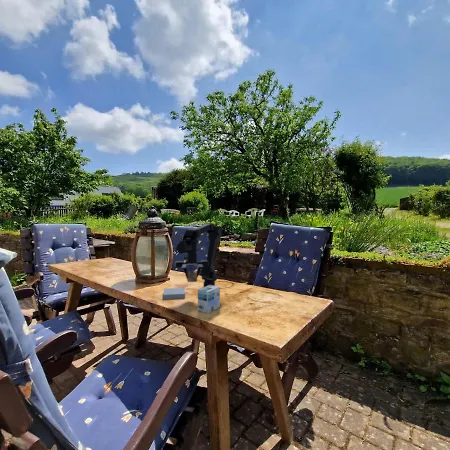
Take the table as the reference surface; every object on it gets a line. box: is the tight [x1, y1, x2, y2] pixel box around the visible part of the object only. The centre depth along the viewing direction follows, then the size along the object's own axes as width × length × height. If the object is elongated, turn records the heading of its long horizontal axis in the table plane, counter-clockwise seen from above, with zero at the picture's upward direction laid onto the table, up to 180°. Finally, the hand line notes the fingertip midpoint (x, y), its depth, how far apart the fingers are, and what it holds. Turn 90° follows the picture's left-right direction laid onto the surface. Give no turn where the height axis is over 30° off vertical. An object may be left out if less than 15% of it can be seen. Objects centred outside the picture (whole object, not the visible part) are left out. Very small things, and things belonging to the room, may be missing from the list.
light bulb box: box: [197, 285, 221, 314], centre depth 131 cm, size 11×7×11 cm, turn 148°
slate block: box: [162, 287, 186, 300], centre depth 152 cm, size 12×12×3 cm
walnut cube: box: [186, 270, 198, 283], centre depth 147 cm, size 5×5×5 cm
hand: (191, 278), depth 148 cm, fingers closed on walnut cube, 5 cm apart
